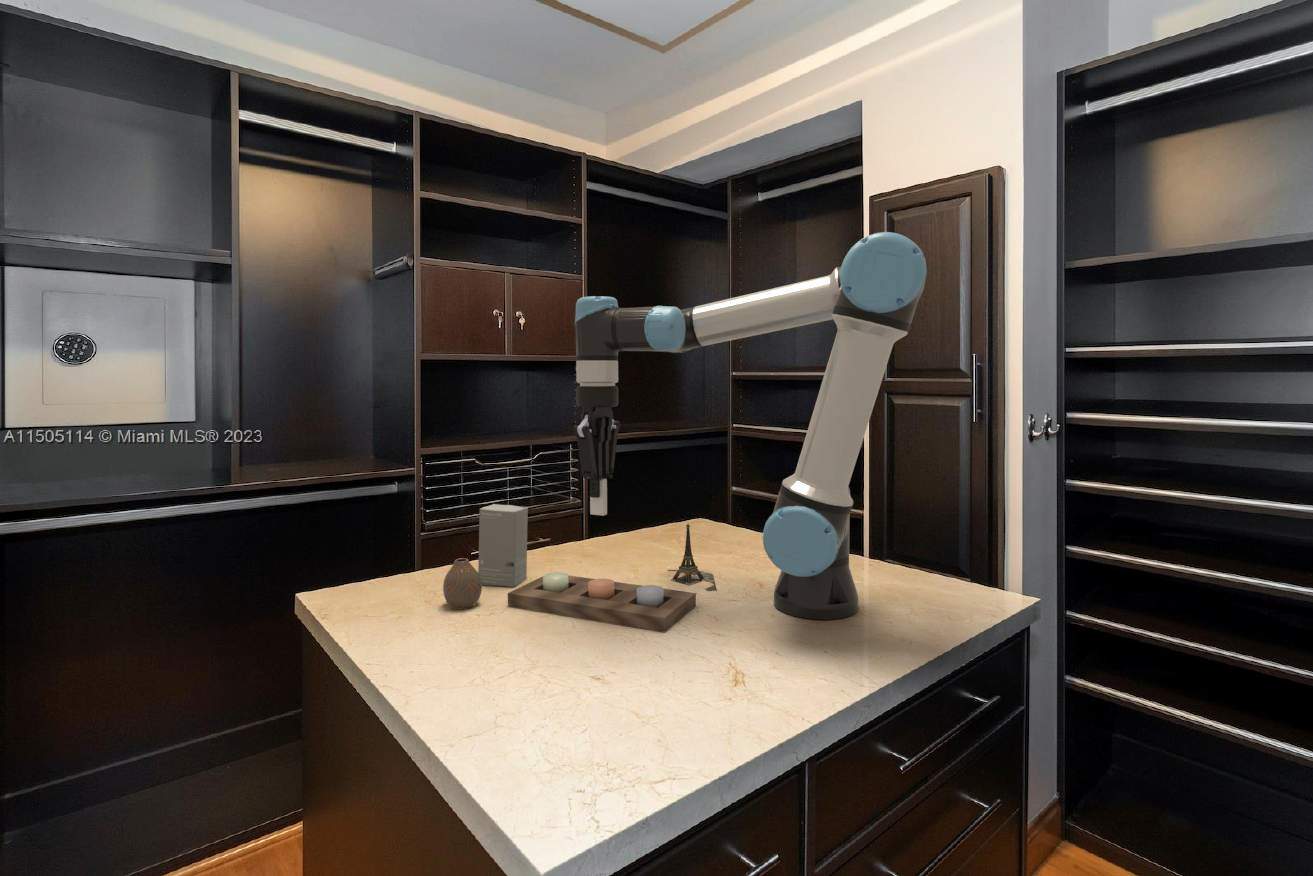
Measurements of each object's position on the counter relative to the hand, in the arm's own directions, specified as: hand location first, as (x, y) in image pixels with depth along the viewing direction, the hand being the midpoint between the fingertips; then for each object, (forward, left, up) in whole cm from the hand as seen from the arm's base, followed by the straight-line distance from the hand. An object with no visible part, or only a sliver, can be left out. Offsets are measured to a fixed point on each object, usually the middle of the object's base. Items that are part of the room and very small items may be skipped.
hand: (598, 514), depth 127 cm
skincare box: (+26, -5, -18) cm, 32 cm away
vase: (+24, +10, -18) cm, 31 cm away
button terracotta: (0, 0, -16) cm, 16 cm away
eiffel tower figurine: (-9, -21, -18) cm, 29 cm away
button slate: (-10, 0, -16) cm, 19 cm away
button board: (0, 0, -17) cm, 17 cm away
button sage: (+10, 0, -16) cm, 19 cm away
